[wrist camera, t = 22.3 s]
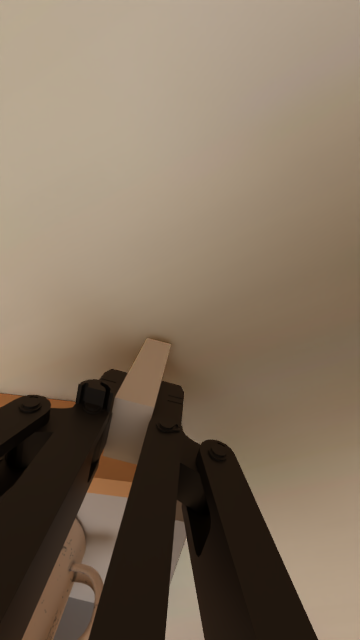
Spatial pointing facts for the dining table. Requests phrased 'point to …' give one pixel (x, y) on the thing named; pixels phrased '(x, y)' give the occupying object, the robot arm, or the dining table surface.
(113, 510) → the grey tray
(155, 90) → the dining table surface
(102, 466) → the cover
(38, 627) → the teacup with lid
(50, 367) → the dining table surface
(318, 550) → the dining table surface
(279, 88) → the dining table surface
